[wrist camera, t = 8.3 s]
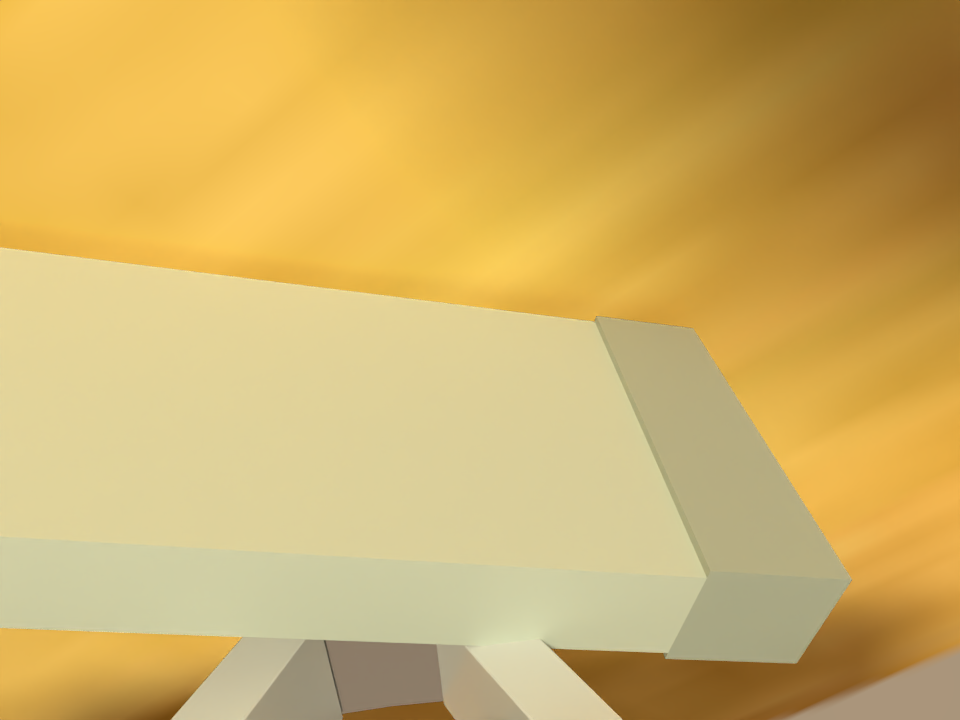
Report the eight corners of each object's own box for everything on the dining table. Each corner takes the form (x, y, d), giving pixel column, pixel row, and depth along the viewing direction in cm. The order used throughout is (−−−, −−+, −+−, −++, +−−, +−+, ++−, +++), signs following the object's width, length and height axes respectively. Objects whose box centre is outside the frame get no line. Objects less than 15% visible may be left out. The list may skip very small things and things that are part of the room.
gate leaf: (664, 399, 13) (796, 663, 9) (-442, 282, 10) (-1019, 597, 6) (692, 328, 12) (851, 580, 8) (-493, 178, 9) (-1196, 456, 5)
